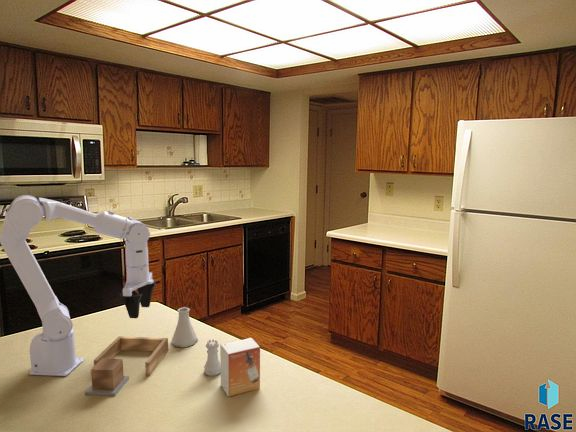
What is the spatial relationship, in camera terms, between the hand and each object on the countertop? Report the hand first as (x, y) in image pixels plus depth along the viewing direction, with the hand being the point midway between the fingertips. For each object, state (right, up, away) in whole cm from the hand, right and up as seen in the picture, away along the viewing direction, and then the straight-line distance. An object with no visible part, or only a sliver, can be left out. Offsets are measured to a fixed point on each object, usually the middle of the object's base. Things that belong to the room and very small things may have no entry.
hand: (139, 312), depth 111 cm
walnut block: (-1, -13, -17) cm, 21 cm away
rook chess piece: (+22, -13, -10) cm, 28 cm away
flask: (+11, -10, +5) cm, 16 cm away
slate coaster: (-1, -13, -17) cm, 22 cm away
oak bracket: (0, -12, -6) cm, 13 cm away
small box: (+30, -14, -17) cm, 37 cm away
